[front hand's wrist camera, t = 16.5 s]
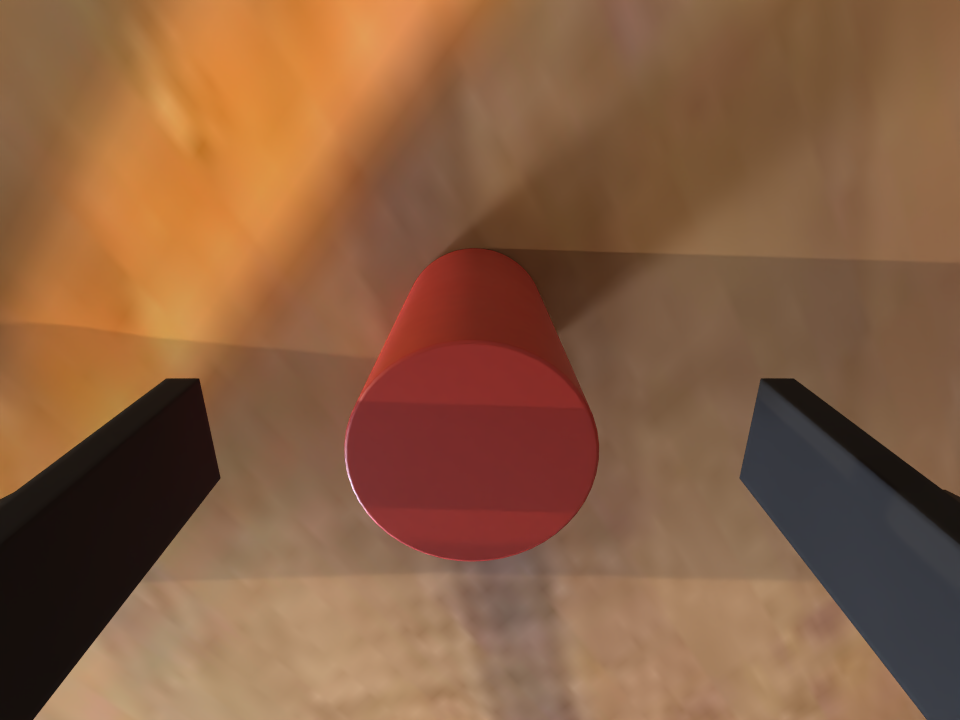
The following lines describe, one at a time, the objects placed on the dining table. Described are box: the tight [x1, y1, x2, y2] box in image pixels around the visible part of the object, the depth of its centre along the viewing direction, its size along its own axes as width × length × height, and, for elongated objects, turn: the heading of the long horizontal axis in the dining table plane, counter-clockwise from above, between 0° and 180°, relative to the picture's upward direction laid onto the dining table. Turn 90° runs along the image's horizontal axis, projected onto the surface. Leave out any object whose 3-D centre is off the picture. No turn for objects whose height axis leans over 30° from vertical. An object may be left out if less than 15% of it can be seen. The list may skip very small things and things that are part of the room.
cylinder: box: [344, 248, 599, 561], centre depth 17 cm, size 6×6×12 cm
